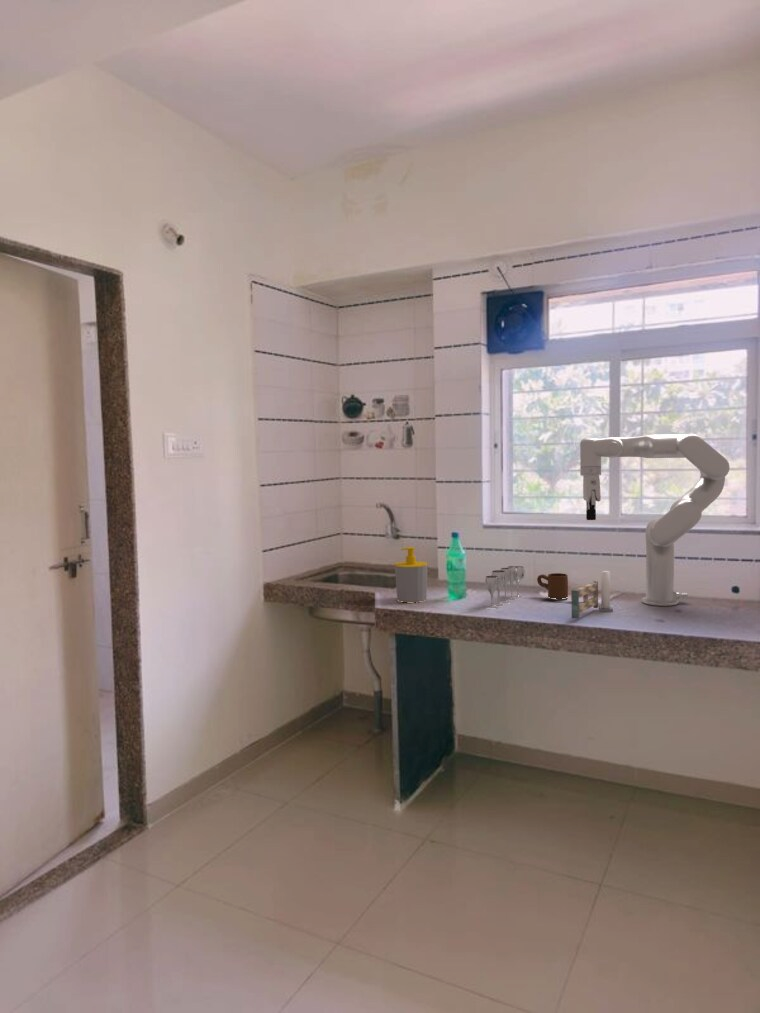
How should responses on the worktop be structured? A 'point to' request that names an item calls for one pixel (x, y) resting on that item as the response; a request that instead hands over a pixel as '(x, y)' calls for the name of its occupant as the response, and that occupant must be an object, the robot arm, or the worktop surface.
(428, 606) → the worktop surface
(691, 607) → the worktop surface
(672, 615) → the worktop surface
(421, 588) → the soap bottle
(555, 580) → the mug
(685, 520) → the robot arm
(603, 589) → the gate post
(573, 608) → the gate
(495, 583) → the goblet set
